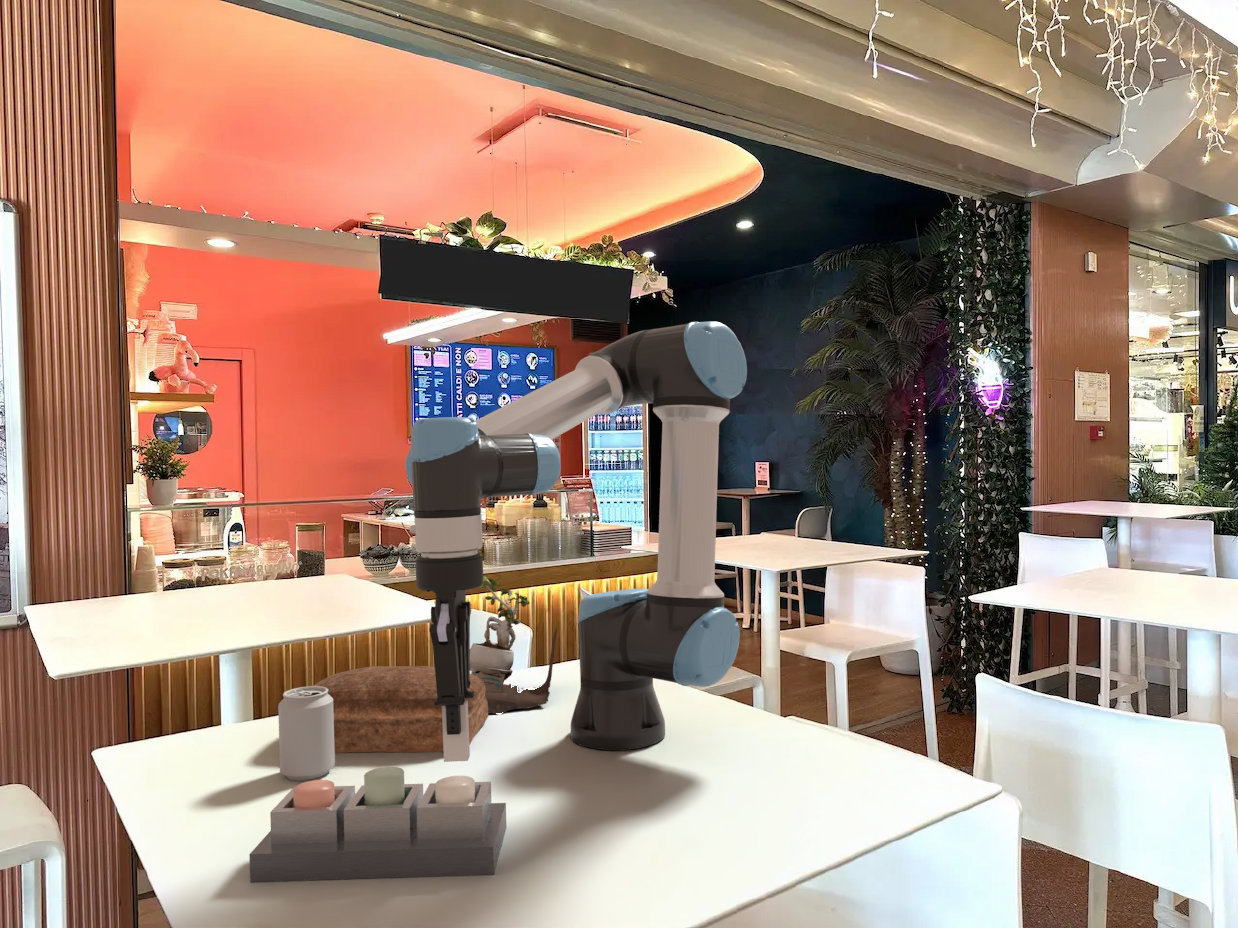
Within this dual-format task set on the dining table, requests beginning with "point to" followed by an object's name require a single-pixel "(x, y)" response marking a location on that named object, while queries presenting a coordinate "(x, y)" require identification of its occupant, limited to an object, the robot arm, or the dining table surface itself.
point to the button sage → (384, 786)
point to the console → (381, 838)
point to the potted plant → (504, 659)
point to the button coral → (314, 794)
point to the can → (306, 733)
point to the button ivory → (455, 790)
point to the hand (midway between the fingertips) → (456, 758)
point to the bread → (394, 709)
